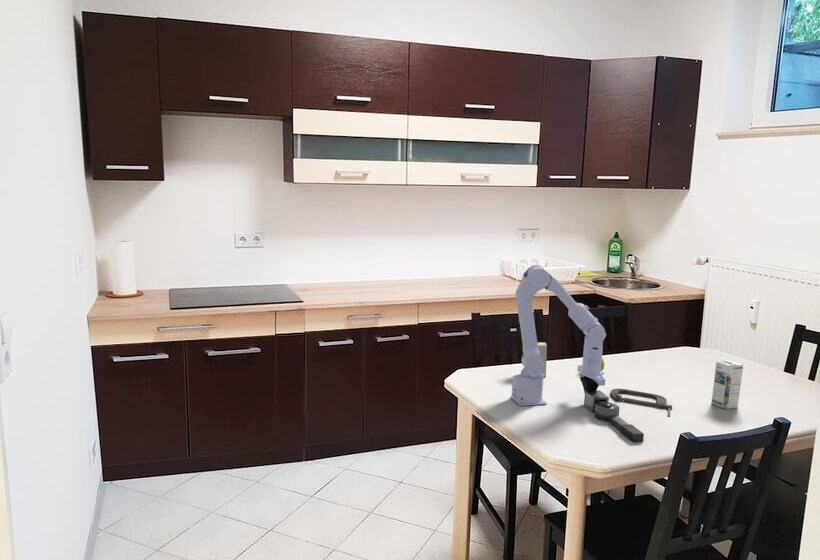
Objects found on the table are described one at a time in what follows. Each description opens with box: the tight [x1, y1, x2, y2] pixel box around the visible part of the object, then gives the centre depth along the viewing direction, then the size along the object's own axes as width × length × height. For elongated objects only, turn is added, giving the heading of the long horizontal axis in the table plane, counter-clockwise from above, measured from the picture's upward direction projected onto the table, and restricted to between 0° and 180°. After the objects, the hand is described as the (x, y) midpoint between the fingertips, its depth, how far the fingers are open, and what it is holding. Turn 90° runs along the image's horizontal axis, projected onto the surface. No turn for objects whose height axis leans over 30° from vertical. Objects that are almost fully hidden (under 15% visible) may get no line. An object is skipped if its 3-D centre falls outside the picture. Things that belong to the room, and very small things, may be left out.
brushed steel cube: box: [583, 389, 610, 414], centre depth 185 cm, size 6×5×5 cm
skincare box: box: [537, 341, 548, 378], centre depth 216 cm, size 6×4×12 cm
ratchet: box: [593, 400, 645, 443], centre depth 175 cm, size 25×7×4 cm, turn 11°
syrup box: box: [710, 359, 744, 410], centre depth 190 cm, size 6×6×14 cm
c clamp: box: [610, 388, 673, 418], centre depth 193 cm, size 20×17×3 cm
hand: (589, 399), depth 190 cm, fingers closed
